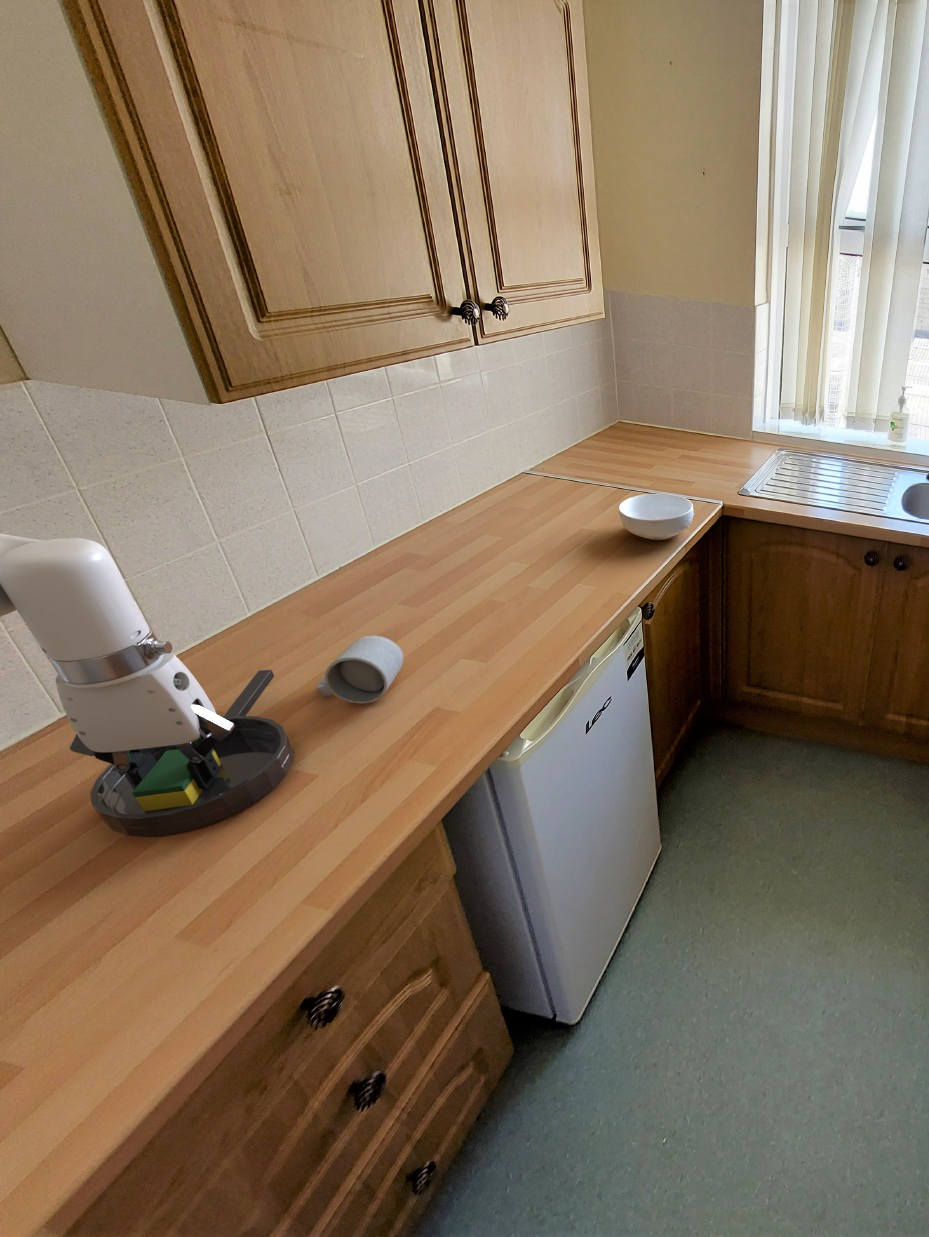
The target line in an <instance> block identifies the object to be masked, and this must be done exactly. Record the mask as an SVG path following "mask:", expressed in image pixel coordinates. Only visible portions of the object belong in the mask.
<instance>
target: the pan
mask: <svg viewBox="0 0 929 1237" xmlns="http://www.w3.org/2000/svg"><path fill="white" fill-rule="evenodd" d="M221 717H222V718H224V719H226V720H228V721H229V722H231V723H233V724H234V725H235V728H234V729H233V731H232V732H231V733H230V735H228V736H227V737H226V738H224V739H223V740H222V741H220V742H219V743H217V744H216V745H215V746H214V748H213V749H214V751H215V753H216V754H217V756H218V758H219V760H220V762H221V765H220V766H219V768H220V771H219V774H218V775H217V776H216V777H215V779H214V780H213V782H212V783H211V785H210V786H209V788H208V789H203V791H202V792H201V794H200V795H199V796H198V798H197V799H196V801H195V802H194V804H193V805H187V806H180V807H173V808H165V809H158V810H151V811H144V810H143V809H142V807H141V806H140V804H139V803H138V801H137V799H136V797H135V796H134V795H133V793H132V792H133V791H134V790H135V788H136V786H135V784H134V783H133V781H132V780H131V778H130V777H129V775H128V773H127V772H121V771H118V770H117V769H116V768H115V765H113V764H110V765H108V766H107V767H106V768H105V769H104V771H103V772H102V773H101V774H100V775H99V776H98V777H97V778H96V779H95V781H94V784H93V786H92V788H91V790H90V792H89V796H90V803H91V806H92V807H93V809H94V810H95V812H96V814H98V816H99V818H100V819H101V820H102V822H103V823H104V824H105V825H106V826H107V827H108V828H109V829H110V830H111V831H112V832H115V833H118V834H120V835H124V836H127V837H137V838H163V837H172V836H176V835H177V836H178V835H183V834H186V833H191V832H195V831H198V830H201V829H204V828H208V827H211V826H213V825H216V824H218V823H220V822H223V821H225V820H228V819H230V818H232V817H234V816H236V815H238V814H240V813H242V812H244V811H246V810H248V808H251V807H253V806H254V805H255V804H257V803H258V802H260V801H261V800H263V799H264V798H265V797H267V796H268V795H270V794H271V793H272V792H273V791H274V790H275V789H276V788H277V787H278V786H279V785H280V783H281V782H282V781H283V780H284V779H285V777H287V775H288V773H289V771H290V769H291V767H292V765H293V763H294V757H295V750H294V748H293V746H292V743H291V741H290V739H289V737H288V734H287V732H286V730H285V728H284V727H283V725H281V724H280V723H278V722H277V721H275V720H273V719H271V718H266V717H262V716H258V715H246V716H232V717H223V716H221ZM199 726H200V725H199ZM200 729H201V730H202V731H203V732H204V733H205V734H206V735H208V734H209V733H210V732H211V731H210V730H208V729H206V728H204V727H202V726H200ZM192 743H193V744H194V745H195V746H196V747H197V745H196V744H195V743H194V742H192ZM177 749H178V748H176V747H175V746H174V745H170V746H162V747H153V748H145V749H143V754H145V753H150V754H151V755H153V757H154V758H155V760H156V762H157V761H158V760H159V759H160V758H161V757H162V755H163V754H164V753H165V752H166V751H169V750H177Z"/></svg>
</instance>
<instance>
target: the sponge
mask: <svg viewBox="0 0 929 1237" xmlns="http://www.w3.org/2000/svg"><path fill="white" fill-rule="evenodd" d="M211 753H212V754H213V756H214V758H215V760H216V762H217V764H218V766H220V765H221V762H220V760H219V758H218V756H217V754H216V753H215V751H214V749H212V750H211ZM189 761H190V760H189V759H188V758H187V757H186V756H185V755H184V754H183V753H182V752H181V751H180V750H179V749H177V750H169V751H166V752H165V753H164V754H163V755H162V757H161V758H160V759H159V760H158V761H157V763H156V764H155V765H154V766H153V768H152V769H151V770H150V771H149V772H148V774H147V775H146V776H145V777H144V779H143V780H142V781H141V782H140V783H139V785H138V786H137V787H136V788H135V790H134V791H133V792H132V793H133V795H134V796H135V797H136V799H137V801H138V803H139V804H140V806H141V807H142V809H143V810H144V811H151V810H158V809H165V808H173V807H180V806H187V805H193V804H194V802H195V801H196V799H197V798H198V796H199V795H200V794H201V792H202V791H203V789H200V788H199V787H198V786H197V784H196V782H195V780H194V779H193V777H192V775H191V774H190V772H189V771H188V769H187V764H188V762H189Z"/></svg>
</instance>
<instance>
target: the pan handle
mask: <svg viewBox="0 0 929 1237" xmlns="http://www.w3.org/2000/svg"><path fill="white" fill-rule="evenodd" d="M274 678H275V675H274V672H273V669H262V670H258V671H257V672H255V675H254V676H253V677H252V679H251V680H250V681H249V682H248V684H247V685H246V686H245V687H244V689H243V690H242V692H240V694H239V695H238V697H237V698H236V699H235V700H234V702H233V703H232V704H231V706H229V708H228V709H227V711H226V712H225V713H224V715H223V716H222V717H232V716H248V713H249V712H250V711H251V709H253V706H254V705H255V704H256V703H257V701H258V700H259V698H260V697H261V695H262V694H263V693H264V691H265V690H266V688H268V686H269V684H270V683H271V682H272V680H273V679H274Z"/></svg>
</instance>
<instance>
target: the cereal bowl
mask: <svg viewBox="0 0 929 1237" xmlns="http://www.w3.org/2000/svg"><path fill="white" fill-rule="evenodd" d="M618 514H619V518H620V522H621V524H622V525H623V527H624V528H625V529H626V530H627V531H629V532H630V533H631V534H633V535H635V536H637V537H641V538H645V539H646V540H650V541H651V540H652V541H663V540H669V539H671V538H673V537H675V536H677V535H679V534H681V533H682V532H685V531H686V530H687V529H688V528H689V527H690V525H691V524H692V522H693V519H694V518H693V517H694V505H693V502H692V501H691V500H689V499H688V498H686V497H683V496H680V495H676V494H669V493H645V494H640V495H635V496H631V497H628V498H627V499H625V500H623V501H622V502H621V503H620V504H619V506H618Z"/></svg>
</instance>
